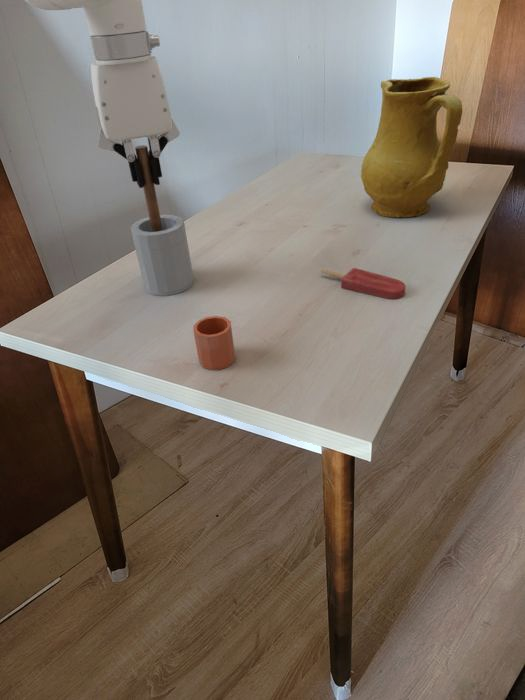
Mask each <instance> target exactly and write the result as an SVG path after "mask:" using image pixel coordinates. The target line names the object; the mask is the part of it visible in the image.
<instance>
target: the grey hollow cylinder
mask: <svg viewBox="0 0 525 700" xmlns="http://www.w3.org/2000/svg"><path fill="white" fill-rule="evenodd" d="M160 217H161V222H162V227H163V231H158V232H152V229H151V224H150V219H149V216H147V217H143V218H141V219H139V220H137V221H136V222H134V223H133V224H132V225H131V227H130V231H131V236H132V241H133V245H134V249H135V252H136V253H135V254H136V257H137V262H138V267H139V270H140V274H141V275H140V276H141V279H142V283H143V287H144V289H145V291H146V292H147V293H148V294H150V295H153V296H159V297H165V296H166V297H167V296H173V295H176V294H180V293H182V292H185V291H186V290H188V289H190V288H191V287H192V286H193V284H194V273H193V272H194V271H193V266H192V261H191V255H190V250H189V243H188V236H187V232H186V225H185V221H184V219H183V218H182V217H180V216H178V215H174V214H160Z"/></svg>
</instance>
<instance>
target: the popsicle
mask: <svg viewBox="0 0 525 700" xmlns="http://www.w3.org/2000/svg"><path fill="white" fill-rule="evenodd" d="M320 273H322V274H325V275H329V276H333V277H338V278H340V287H341V288H342V289H346V290H349V291H354V292H357V293H358V292H359V293H363V294H366V295H371V296H375V297H380V298H384V299H389V300H390V299H391V300H394V299H400V298H402V297H403V296H405V294H406V285H405V283H404V282H403V281H402V280H399V279H397V278H394V277H390V276H386V275H383V274H379V273H374V272H371V271H367V270H364V269H360V268H357V267H353V268H351V270H349V271H348V272H347V273H346V274H344V273H339V272H335V271H332V270H327V269H321V270H320Z"/></svg>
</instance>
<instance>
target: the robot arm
mask: <svg viewBox="0 0 525 700" xmlns="http://www.w3.org/2000/svg"><path fill="white" fill-rule="evenodd" d="M24 2H25V3H27V4H29V5H30V6H32V7H35V8H37V9H40V10H43V11H64V10H72V9H80V8H81V9H83V10H84V15H85V18H86V23H87V28H88V33H89V37H90V42H91V46H92V50H93V56H94V59H95V62H92V63H90V75H91V76H90V77H91V85H92V92H93V97H94V103H95V109H96V114H97V118H98V123H99V132H98V139H97V146H98V147H99V148H100V149H103V150H106V151H112V152H115V153H117V154H118V155H120V156H121V157H122V158H124V159H125V160H127V161H128V167H129V172H130V176H131V181H132V182H133V183H135V182H136V184H137V186H138V188H139V189H143V186H144V182H143V177H142V172H141V167H140V163H139V161H138V160H137V155H136V153H135V151H134V147H133V142H132V140H137V139H142V138H147V144H148V154H149V160H150V165H151V170H152V176H153V181H154V185H155V186H159V185H161V182H160V178H162V177H163V173H162V167H161V163H160V161H161V160H160V158H161V155H162V154H161V153H163V151H164V150H165V148H166V146H167V144H168V143H170V142H172V141H174V140H175V139H177V138H178V137H180V131H179V129H178V127H177V125H176V123H175V122H174V120H173V118H172V113H171V112H172V111H171V108H170V104H169V99H168V95H167V91H166V86H165V82H164V80H163V75H162V72H161V68H160V65H159V63H158V60H157V58H156V56H154V55H153V56H152V50H153V49H155V48H157V47H160V46H161V45H160V44H161V42H160V37H159V35H153V34H150V33H149V31H148V30H147V24H146V18H145V13H144V7H143V1H142V0H24ZM120 142H121V143H120Z"/></svg>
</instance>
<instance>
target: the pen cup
mask: <svg viewBox="0 0 525 700" xmlns="http://www.w3.org/2000/svg"><path fill="white" fill-rule="evenodd" d="M192 331H193V336H194V342H195V347H196V353H197V359H198V361H199V364H200V366H201V367H203V368H204V369H207V370H209V371H217V370H223V369H226V368H228V367H230V366H231V365H232V364H233V363H234V362H235V360H236V353H235V352H236V351H235V345H234V336H233V329H232V321H231V320H230V319H228V318H227V317H225V316H220V315H211V316H205V317H204V318H201V319H199V320H197V321H196V323H194V324H193V330H192Z"/></svg>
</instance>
